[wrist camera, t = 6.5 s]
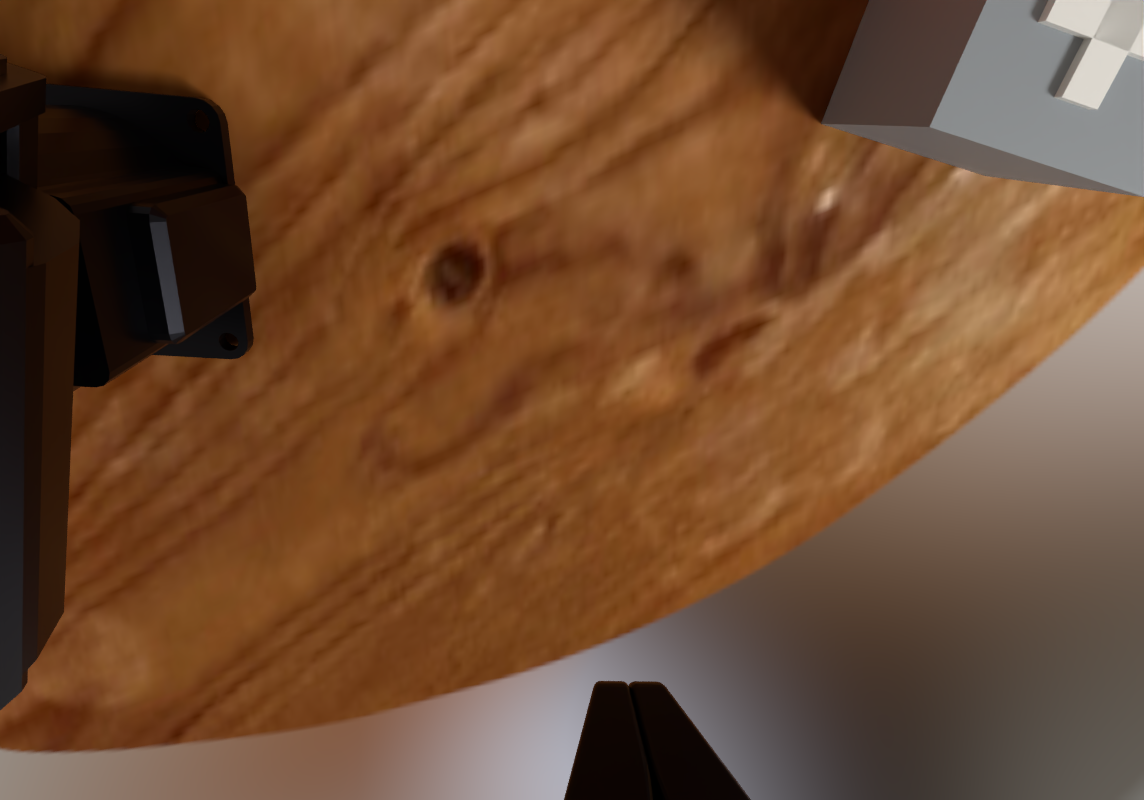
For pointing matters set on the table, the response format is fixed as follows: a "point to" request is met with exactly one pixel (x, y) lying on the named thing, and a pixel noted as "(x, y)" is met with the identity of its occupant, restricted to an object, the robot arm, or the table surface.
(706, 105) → the table surface
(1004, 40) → the slate block
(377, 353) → the table surface
